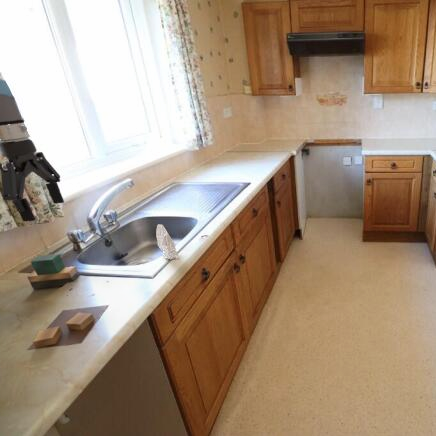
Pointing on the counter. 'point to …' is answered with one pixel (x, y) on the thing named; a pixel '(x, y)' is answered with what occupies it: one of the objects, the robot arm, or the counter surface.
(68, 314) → the tray
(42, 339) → the tan flat block
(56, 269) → the brush
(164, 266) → the counter surface
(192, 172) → the counter surface
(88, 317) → the tan wooden block
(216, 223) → the counter surface
